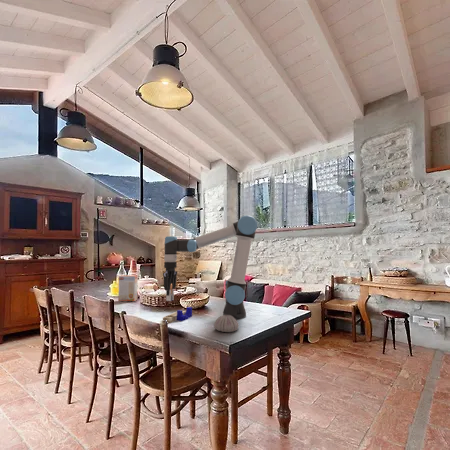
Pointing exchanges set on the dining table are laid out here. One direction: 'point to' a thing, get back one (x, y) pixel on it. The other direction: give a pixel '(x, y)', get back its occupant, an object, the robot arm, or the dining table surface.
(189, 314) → the cable clip
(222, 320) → the sea urchin shell
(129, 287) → the cracker box
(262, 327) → the dining table surface
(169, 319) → the joist batten
